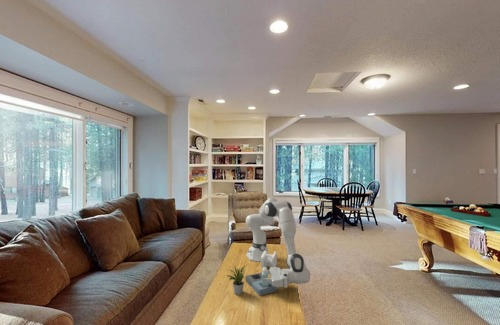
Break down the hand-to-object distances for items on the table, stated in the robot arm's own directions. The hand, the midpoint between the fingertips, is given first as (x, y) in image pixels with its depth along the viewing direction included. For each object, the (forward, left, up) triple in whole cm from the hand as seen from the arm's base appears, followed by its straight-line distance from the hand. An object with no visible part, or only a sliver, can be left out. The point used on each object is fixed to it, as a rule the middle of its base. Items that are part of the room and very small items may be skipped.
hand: (263, 276), depth 157 cm
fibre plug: (0, +1, -9) cm, 9 cm away
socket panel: (-6, +1, -9) cm, 11 cm away
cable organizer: (-28, +20, -9) cm, 35 cm away
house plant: (-5, -16, -9) cm, 19 cm away
